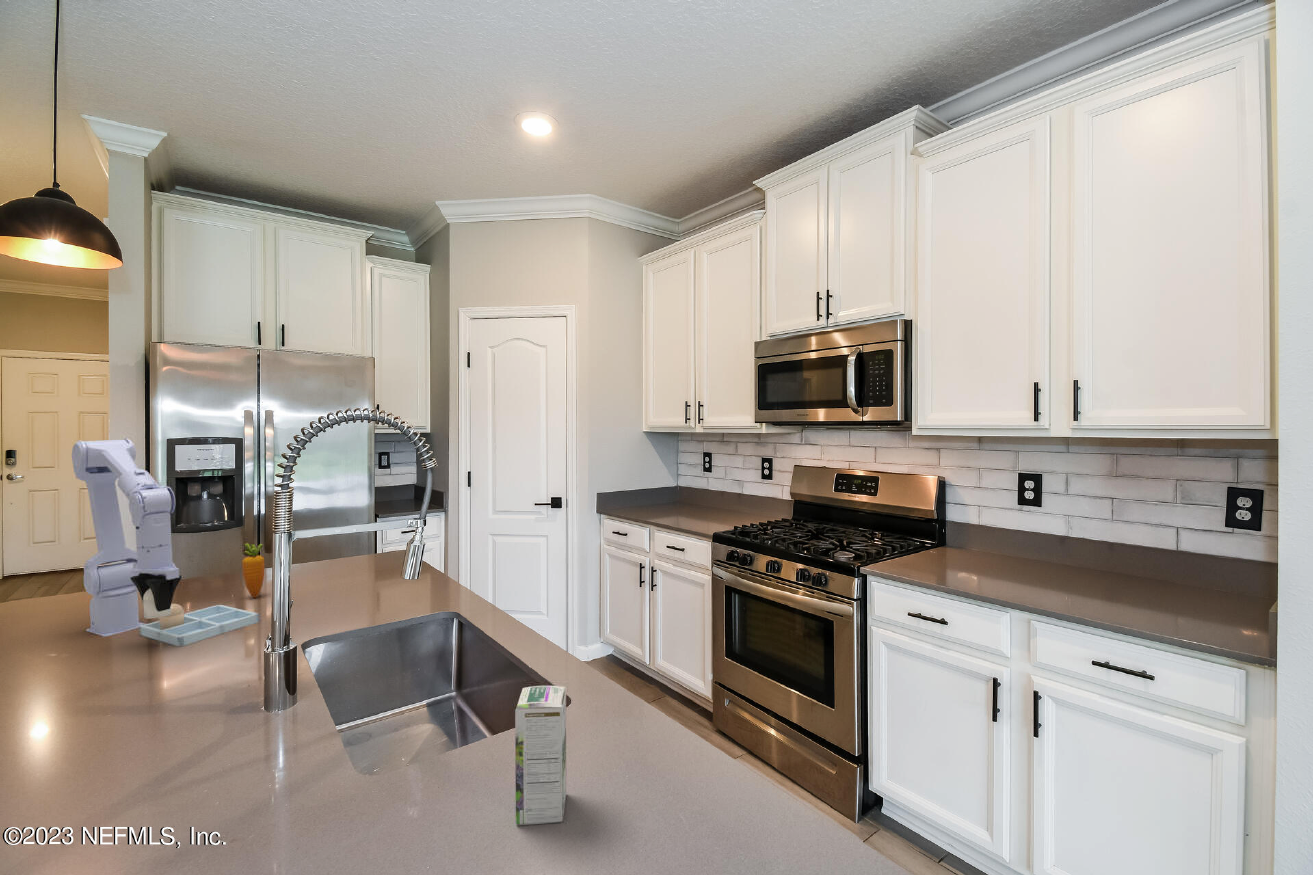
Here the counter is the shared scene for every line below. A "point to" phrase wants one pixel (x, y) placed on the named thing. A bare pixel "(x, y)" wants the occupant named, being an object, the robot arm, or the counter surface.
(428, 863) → the counter surface
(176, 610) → the brown egg
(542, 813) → the syrup box
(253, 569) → the carrot
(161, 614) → the cream egg
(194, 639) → the divided tray
